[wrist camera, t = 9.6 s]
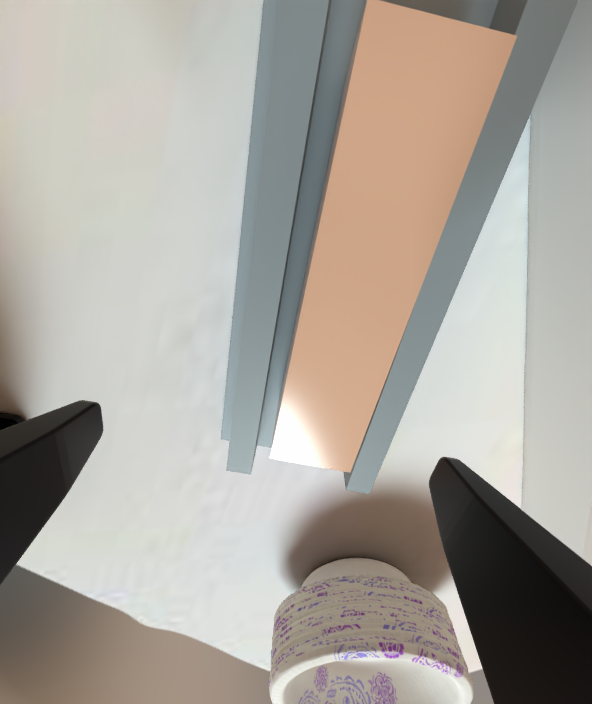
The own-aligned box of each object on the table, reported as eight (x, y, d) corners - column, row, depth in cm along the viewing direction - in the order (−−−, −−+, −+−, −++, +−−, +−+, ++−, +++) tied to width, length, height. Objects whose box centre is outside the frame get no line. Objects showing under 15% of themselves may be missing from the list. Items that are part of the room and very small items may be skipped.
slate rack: (224, 429, 22) (210, 467, 18) (275, -72, 11) (263, -181, 8) (374, 454, 22) (384, 496, 19) (557, -3, 12) (648, -79, 9)
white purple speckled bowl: (437, 528, 26) (487, 654, 18) (434, 621, 32) (470, 741, 25) (261, 541, 27) (245, 661, 20) (292, 627, 34) (287, 741, 26)
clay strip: (278, 398, 19) (269, 458, 15) (345, 74, 12) (367, -3, 8) (340, 410, 19) (350, 472, 15) (441, 97, 12) (517, 36, 8)
